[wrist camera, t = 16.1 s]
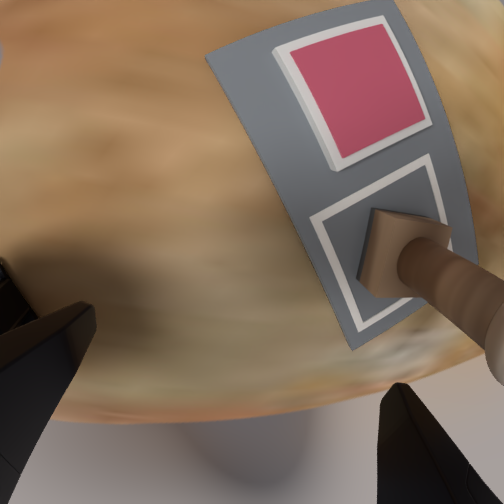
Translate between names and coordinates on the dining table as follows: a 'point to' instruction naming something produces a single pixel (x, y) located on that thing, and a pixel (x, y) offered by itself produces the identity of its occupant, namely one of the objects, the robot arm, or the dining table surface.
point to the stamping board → (348, 142)
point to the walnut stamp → (434, 277)
